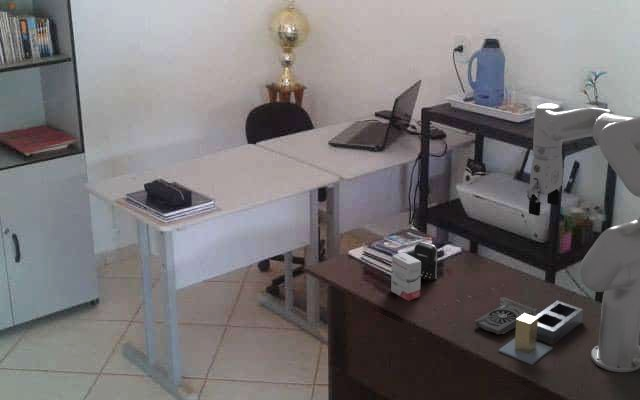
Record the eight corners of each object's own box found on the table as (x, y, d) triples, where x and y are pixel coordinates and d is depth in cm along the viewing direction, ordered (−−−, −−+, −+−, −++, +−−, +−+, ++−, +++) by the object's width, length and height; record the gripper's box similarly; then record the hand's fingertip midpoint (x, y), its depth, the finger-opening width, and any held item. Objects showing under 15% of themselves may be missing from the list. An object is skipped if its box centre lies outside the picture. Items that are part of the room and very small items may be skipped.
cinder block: (582, 322, 241) (583, 309, 239) (552, 344, 230) (553, 331, 228) (556, 313, 246) (557, 300, 244) (526, 334, 235) (526, 322, 234)
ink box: (421, 296, 258) (422, 260, 254) (408, 301, 255) (408, 265, 251) (403, 286, 265) (403, 250, 260) (390, 291, 262) (390, 255, 258)
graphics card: (502, 294, 251) (537, 307, 242) (502, 306, 252) (537, 319, 244) (465, 315, 241) (500, 329, 232) (465, 327, 242) (499, 342, 233)
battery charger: (412, 277, 270) (412, 244, 266) (418, 273, 273) (419, 239, 269) (431, 283, 266) (431, 249, 262) (437, 278, 269) (438, 245, 264)
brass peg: (536, 348, 228) (537, 317, 225) (528, 354, 225) (529, 323, 222) (522, 343, 230) (524, 313, 227) (514, 349, 228) (516, 318, 224)
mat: (552, 349, 228) (552, 347, 228) (531, 364, 221) (532, 363, 221) (518, 336, 234) (519, 335, 234) (498, 351, 228) (498, 349, 228)
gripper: (542, 161, 224) (539, 222, 230) (575, 144, 236) (571, 203, 242) (517, 155, 229) (514, 215, 235) (551, 139, 241) (547, 197, 247)
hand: (543, 209), depth 239 cm, fingers open, 9 cm apart
